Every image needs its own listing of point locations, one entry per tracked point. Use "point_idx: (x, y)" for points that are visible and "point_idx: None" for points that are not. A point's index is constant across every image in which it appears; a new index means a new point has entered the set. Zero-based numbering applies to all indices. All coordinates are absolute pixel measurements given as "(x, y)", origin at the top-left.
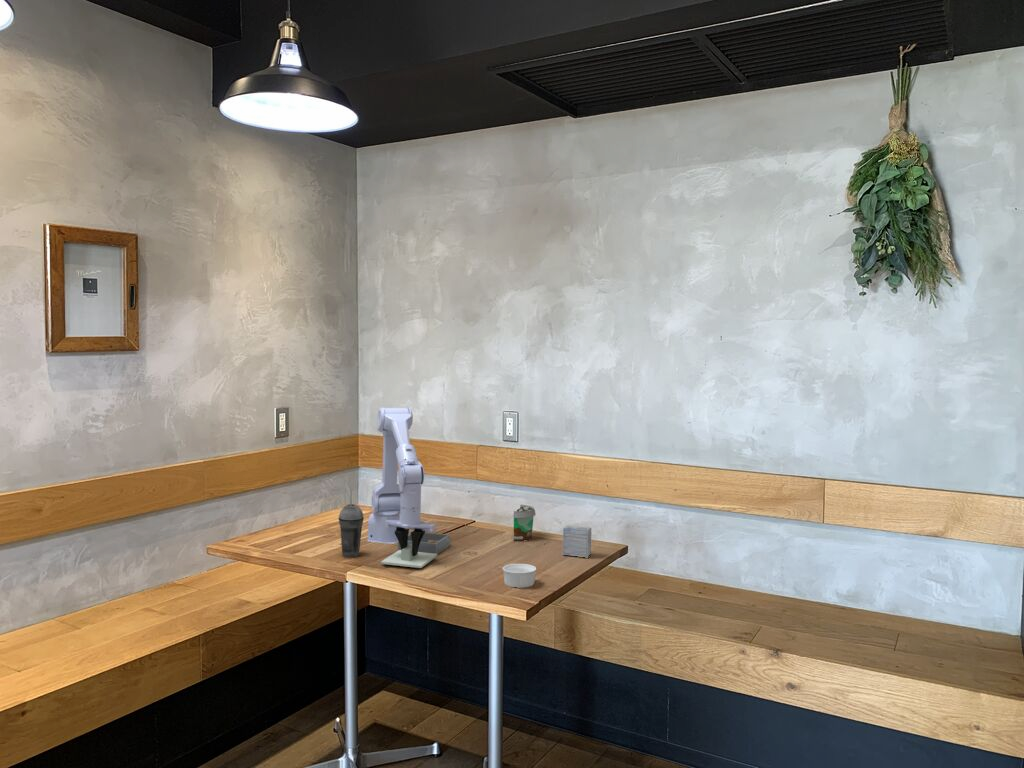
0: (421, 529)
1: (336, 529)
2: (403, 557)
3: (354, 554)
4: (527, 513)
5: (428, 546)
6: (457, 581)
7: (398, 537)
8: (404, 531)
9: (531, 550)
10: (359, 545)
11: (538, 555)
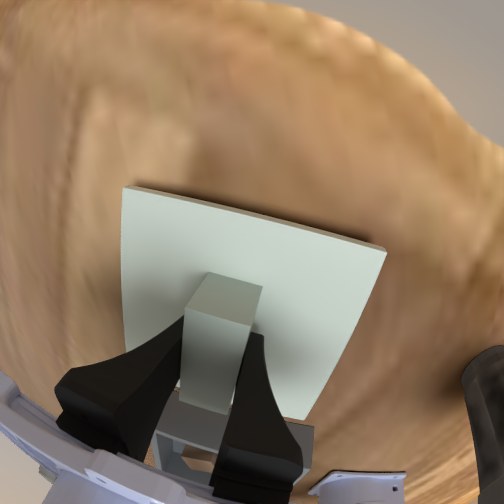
0: (61, 427)
1: (445, 495)
2: (245, 292)
3: (486, 366)
4: (39, 468)
5: (181, 427)
6: (16, 104)
7: (269, 419)
8: (214, 466)
9: (27, 388)
10: (476, 408)
11: (3, 357)
